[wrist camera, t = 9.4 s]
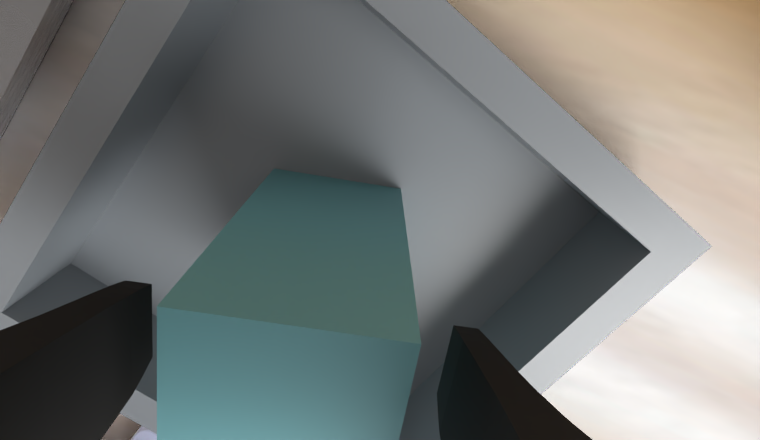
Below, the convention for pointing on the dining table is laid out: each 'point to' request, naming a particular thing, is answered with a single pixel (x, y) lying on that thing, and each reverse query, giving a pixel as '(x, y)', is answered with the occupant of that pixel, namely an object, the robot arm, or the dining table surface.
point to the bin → (342, 175)
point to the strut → (293, 319)
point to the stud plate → (24, 46)
